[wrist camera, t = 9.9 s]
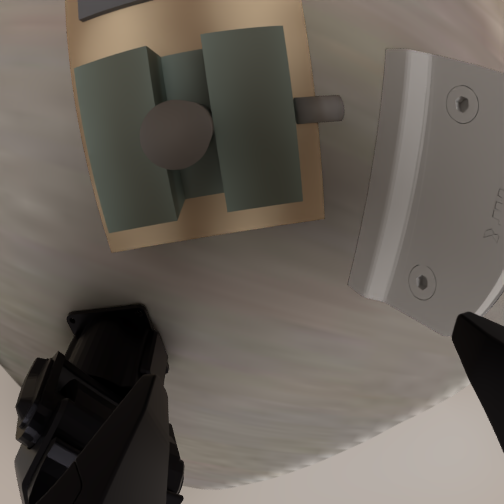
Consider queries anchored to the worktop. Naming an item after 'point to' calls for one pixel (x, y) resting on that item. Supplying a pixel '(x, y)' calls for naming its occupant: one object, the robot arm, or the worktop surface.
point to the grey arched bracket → (435, 191)
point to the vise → (198, 118)
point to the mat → (102, 7)
